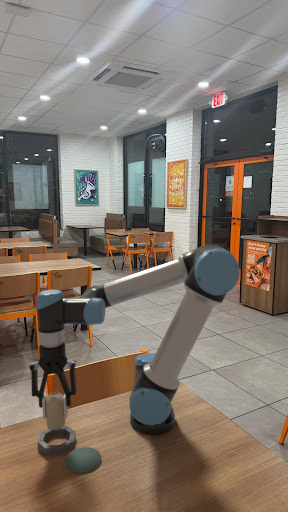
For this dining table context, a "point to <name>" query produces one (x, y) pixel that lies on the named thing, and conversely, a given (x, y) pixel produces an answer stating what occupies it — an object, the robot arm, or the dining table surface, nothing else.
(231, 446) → the dining table surface
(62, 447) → the holder ring
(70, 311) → the robot arm
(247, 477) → the dining table surface
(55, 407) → the candle
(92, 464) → the coaster
